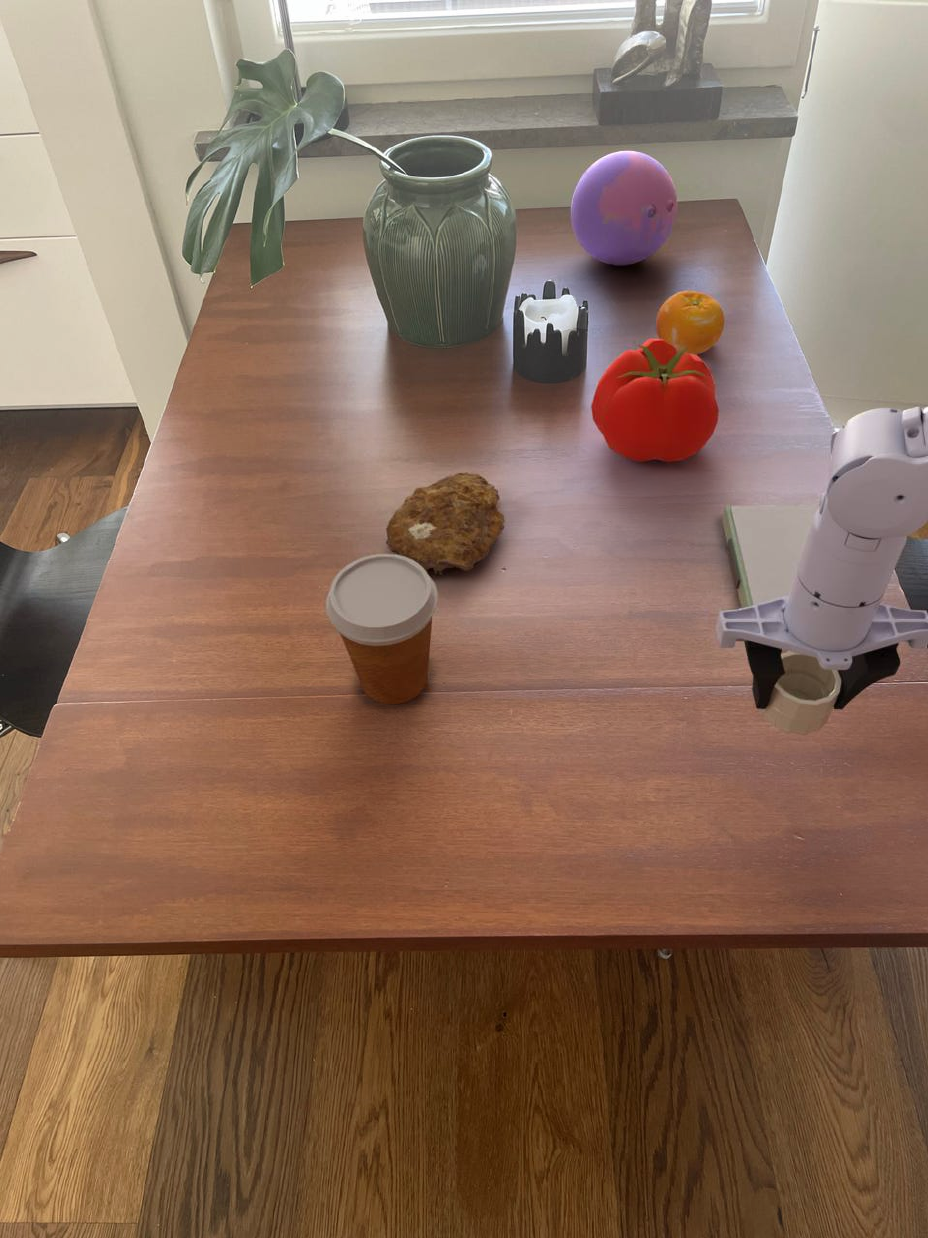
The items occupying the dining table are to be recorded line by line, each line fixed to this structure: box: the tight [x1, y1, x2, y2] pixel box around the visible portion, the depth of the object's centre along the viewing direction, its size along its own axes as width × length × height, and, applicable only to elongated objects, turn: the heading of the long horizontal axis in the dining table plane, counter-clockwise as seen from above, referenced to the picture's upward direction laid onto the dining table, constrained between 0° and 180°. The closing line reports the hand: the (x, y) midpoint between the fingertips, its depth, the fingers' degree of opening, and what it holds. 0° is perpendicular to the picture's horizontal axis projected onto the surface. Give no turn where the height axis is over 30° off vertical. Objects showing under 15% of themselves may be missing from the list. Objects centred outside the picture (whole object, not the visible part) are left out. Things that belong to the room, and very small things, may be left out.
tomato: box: [590, 338, 720, 463], centre depth 103 cm, size 13×14×12 cm
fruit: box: [655, 290, 725, 355], centre depth 119 cm, size 8×9×8 cm
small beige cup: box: [760, 651, 842, 736], centre depth 72 cm, size 5×5×4 cm
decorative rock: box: [385, 472, 506, 576], centre depth 98 cm, size 11×4×15 cm
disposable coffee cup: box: [325, 553, 439, 705], centre depth 82 cm, size 10×10×12 cm
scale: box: [721, 504, 819, 609], centre depth 92 cm, size 15×10×3 cm
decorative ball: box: [570, 150, 678, 266], centre depth 132 cm, size 15×15×15 cm
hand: (796, 698), depth 72 cm, fingers closed on small beige cup, 5 cm apart
